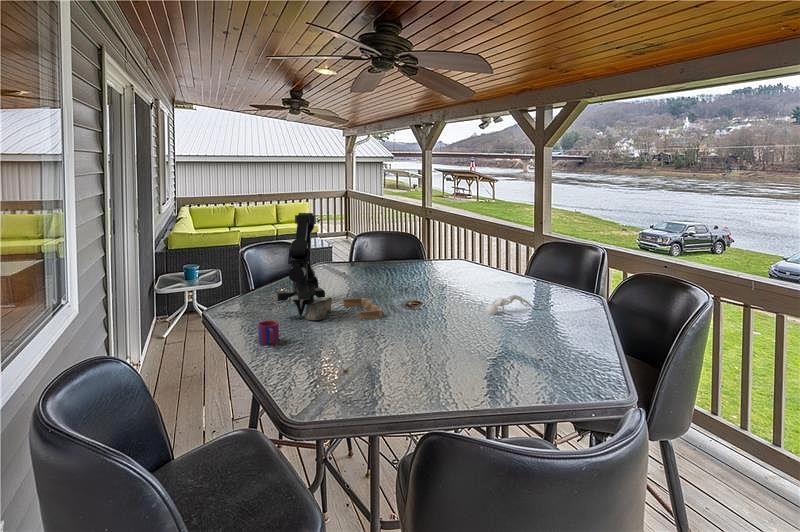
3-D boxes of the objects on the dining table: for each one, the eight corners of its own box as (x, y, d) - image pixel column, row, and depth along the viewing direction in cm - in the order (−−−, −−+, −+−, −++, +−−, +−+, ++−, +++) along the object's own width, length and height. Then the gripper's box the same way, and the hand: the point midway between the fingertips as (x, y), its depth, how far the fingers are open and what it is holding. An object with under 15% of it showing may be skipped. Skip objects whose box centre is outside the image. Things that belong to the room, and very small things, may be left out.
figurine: (542, 301, 222) (499, 292, 209) (537, 324, 222) (493, 316, 209) (527, 296, 230) (485, 288, 217) (522, 318, 230) (479, 311, 218)
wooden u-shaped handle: (342, 305, 224) (342, 299, 223) (363, 304, 228) (363, 297, 227) (360, 320, 203) (360, 312, 202) (382, 317, 207) (382, 310, 206)
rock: (310, 299, 215) (332, 294, 214) (314, 315, 216) (336, 310, 215) (298, 309, 198) (323, 303, 197) (303, 326, 199) (328, 320, 198)
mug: (278, 338, 180) (277, 319, 179) (280, 347, 170) (280, 328, 169) (258, 340, 178) (257, 321, 176) (259, 349, 168) (259, 329, 167)
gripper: (279, 282, 191) (280, 323, 194) (328, 279, 198) (329, 318, 201) (274, 276, 201) (275, 315, 204) (321, 273, 208) (321, 311, 211)
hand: (300, 315), depth 205 cm, fingers closed
